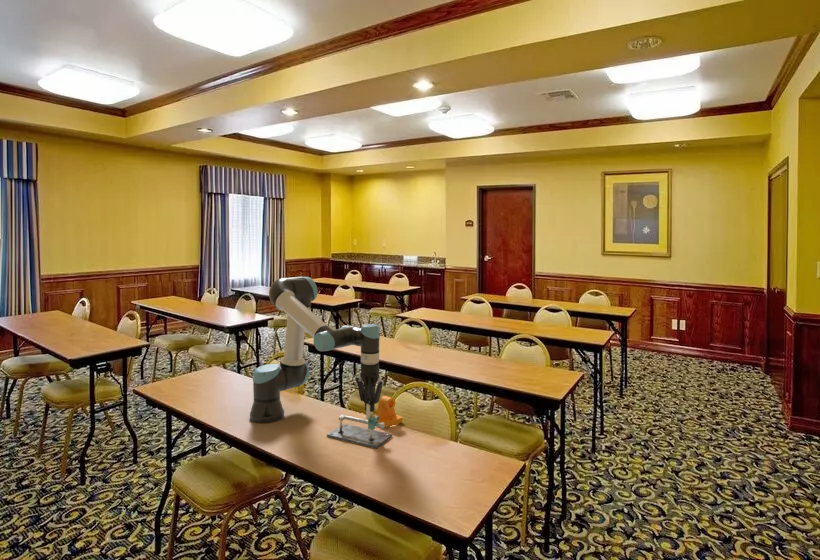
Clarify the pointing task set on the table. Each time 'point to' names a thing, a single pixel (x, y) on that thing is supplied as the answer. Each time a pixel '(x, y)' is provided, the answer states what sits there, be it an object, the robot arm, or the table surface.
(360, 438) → the bolt plate
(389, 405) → the bracket
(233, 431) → the table surface
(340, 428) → the dividers bar
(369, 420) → the sliding leg
